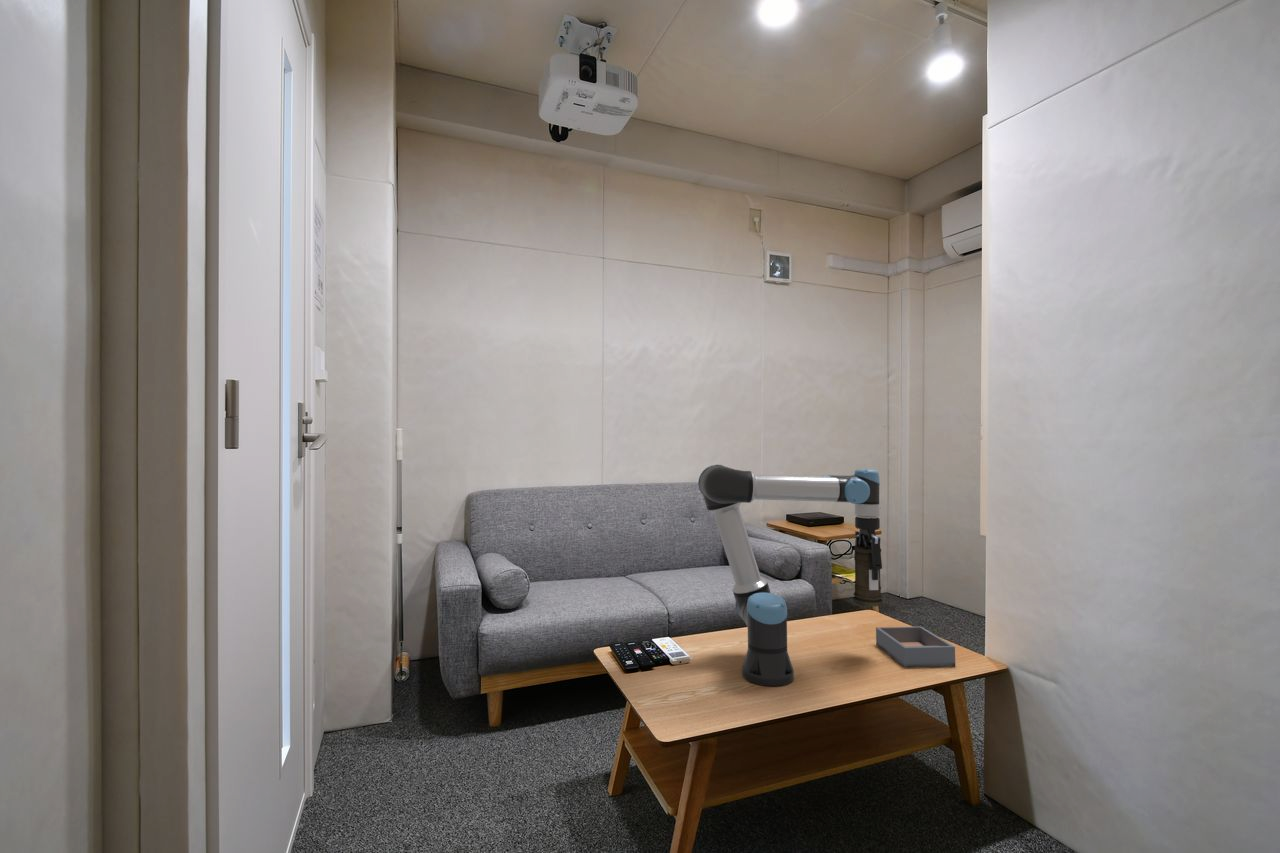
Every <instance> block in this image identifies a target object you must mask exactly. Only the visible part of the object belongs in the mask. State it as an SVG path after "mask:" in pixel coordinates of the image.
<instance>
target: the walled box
mask: <svg viewBox="0 0 1280 853" xmlns="http://www.w3.org/2000/svg"><path fill="white" fill-rule="evenodd" d="M875 645H876V646H877V647H878V648H880V649H881V650H882V651H883V652H885V653H886V654H887V655H888V656H889V657H890V658H892V659H894V660H895V661H896V662H898V664H900V665H901V666H903V667H904V668H938V667H939V668H940V667H941V668H942V667H944V668H946V667H947V666H951V667H956V647H955V646H954V645H952V644H951V643H950V642H948V641H946V640H945V639H943V638H942V637H940V636H938V635H936V634H935V633H933V632H931V631H930V630H928V629H926V628H924V627H923V626H879V627H877V626H876V627H875ZM947 668H948V667H947Z"/></svg>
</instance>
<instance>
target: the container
mask: <svg viewBox="0 0 1280 853" xmlns="http://www.w3.org/2000/svg"><path fill="white" fill-rule="evenodd" d="M880 549H881V547H880ZM881 550H882V549H881ZM853 551H854V554H855V559H854V592H853V598H852V600H853V602H854V603H855V604H858V605H860V606H864V607H880V606H882V605H883V603H884V602H883V596H882V586H881V569H879V570H878V590H869V569H868V568H870V563H869V555H868V554H869V553H872V551H871V550H868V549H866V548H865V546H855V545H854V547H853Z"/></svg>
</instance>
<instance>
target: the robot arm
mask: <svg viewBox="0 0 1280 853" xmlns="http://www.w3.org/2000/svg"><path fill="white" fill-rule="evenodd" d="M880 484H881V483H880V474H879V471H878V470H877V469H867V468H866V469H863V468H862V469H856V470H855V471H854V473H853V475H838V474H837V475H833V474H832V475H831V474H828V475H821V476H809V475H807V476H806V475H803V476H802V475H780V474H779V475H778V474H777V475H775V474H756V473H754V472H753V471H751V470H741V469H734V468H731V467H728V466H724V465H722V464H714V465H709V466H707V467H706V468H704V470H702V471H701V473H700V475H699V477H698V482H697V485H698V490H699V491H700V493H701V495H702V497H703V499H704V503H705V505H706V506H705V507H706V509H707V511H708V512H709V513H711V514H712V515H713V517H714V519H715V523H716V527H717V529H718V532H719V535H720V538H721V539H720V540H721V543H722V545H723V548H724V549H723V550H724V553H725V556H726V558H727V562H728V565H729V568H730V571H731V574H732V577H733V581H734V586H733V588H732V592H733V596H734V599H735V608H736V611H737V614H738V616H739V617H740V618H741V620H743V622H744V623H745V625H746V628H747V651H746V653H745V657H744V659H743V663H742V667H741V669H742V673H741V675H742V676H743V679H745V680H746V681H748V682H750V683H753V684H755V685H758V686H759V685H760V686H765V687H766V686H767V687H779V686H780V687H781V686H785V685H788V684H790V683H792V682H793V681H794V679H795V673H794V672H795V671H794V668H793V664H792V662H791V657H790V655H789V652H788V608H787V603H786V601H785V599H784V598H783V597H782V596H781V595H777V594H775V593H771V589H770V586H769V582H768V580H767V579H766V578H764V577H762V576H761V572H760V570H759V567H758V564H757V561H756V557H755V554H754V551H753V548H752V544H751V541H750V538H749V535H748V531H747V528H746V526H745V522H744V519H743V516H742V513H741V509H740V505H741V504H743V503H749V504H751V503H753V501H755V500H761V501H763V500H764V501H791V502H792V501H795V502H797V501H798V502H799V501H800V502H801V501H802V502H831V503H832V502H833V503H835V502H836V503H851V504H854V515H855V518H854V526H855V527H854V528H856V529H857V530H856V531H854V532H855V533H854V534H855V540H854V543H855V544H854V547H855V546H865V548H866V549H868V550H871V551H872V553H869V554H868V555H869V563H870V568H868V569H869V590H878V570H879V569H880V570H882V569H883V563H882V562H883V560H882V549H880V548H881V537H880V536H877V534H876V531H878V530H880V527H881V524H880V523H881V522H880V519H881V518H879V516H880V510H881V506H880ZM853 557H854V558H853V559H854V560H855V553H854V556H853Z"/></svg>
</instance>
